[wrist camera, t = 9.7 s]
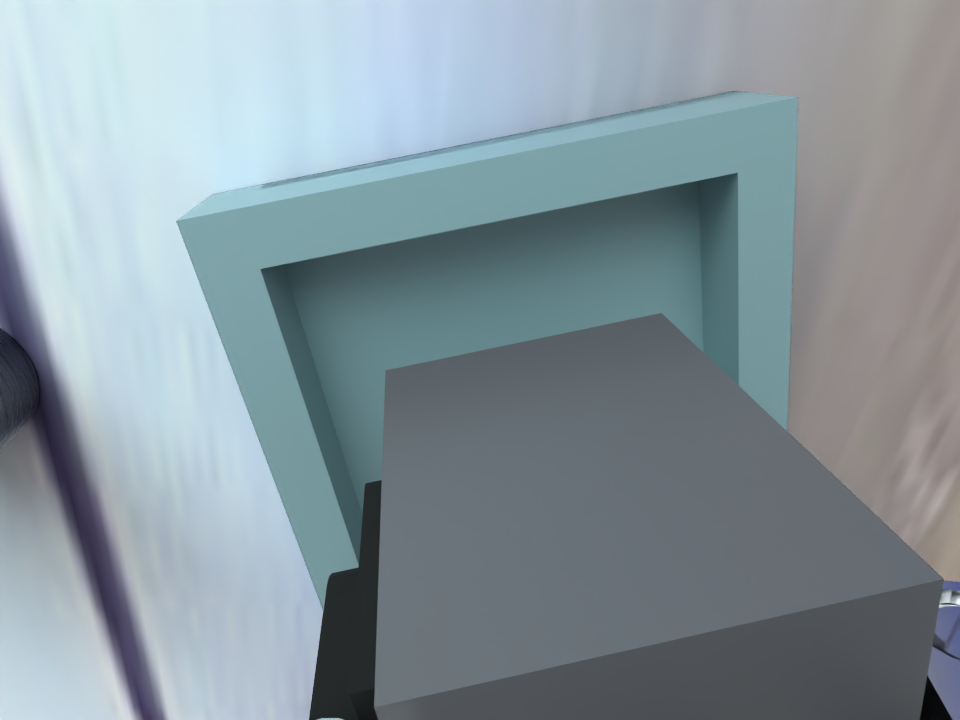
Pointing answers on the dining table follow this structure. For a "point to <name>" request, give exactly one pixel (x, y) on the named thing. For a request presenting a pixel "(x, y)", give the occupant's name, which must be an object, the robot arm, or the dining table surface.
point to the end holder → (492, 275)
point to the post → (15, 389)
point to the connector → (628, 547)
